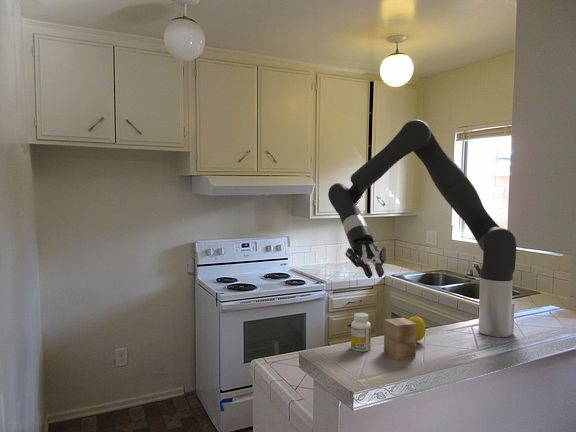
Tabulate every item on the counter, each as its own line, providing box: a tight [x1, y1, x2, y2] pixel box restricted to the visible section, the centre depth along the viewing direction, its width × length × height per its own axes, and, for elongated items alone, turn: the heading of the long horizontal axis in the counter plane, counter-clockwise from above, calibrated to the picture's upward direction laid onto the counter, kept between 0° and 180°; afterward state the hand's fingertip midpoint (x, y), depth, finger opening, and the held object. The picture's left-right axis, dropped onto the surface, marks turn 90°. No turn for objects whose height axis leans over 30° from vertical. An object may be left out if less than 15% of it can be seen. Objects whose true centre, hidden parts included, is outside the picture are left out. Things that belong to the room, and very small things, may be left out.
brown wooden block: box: [383, 317, 417, 360], centre depth 115 cm, size 6×6×9 cm
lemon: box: [408, 314, 427, 343], centre depth 125 cm, size 6×6×8 cm
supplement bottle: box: [350, 312, 372, 353], centre depth 119 cm, size 5×5×10 cm
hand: (376, 276), depth 127 cm, fingers open, 3 cm apart
